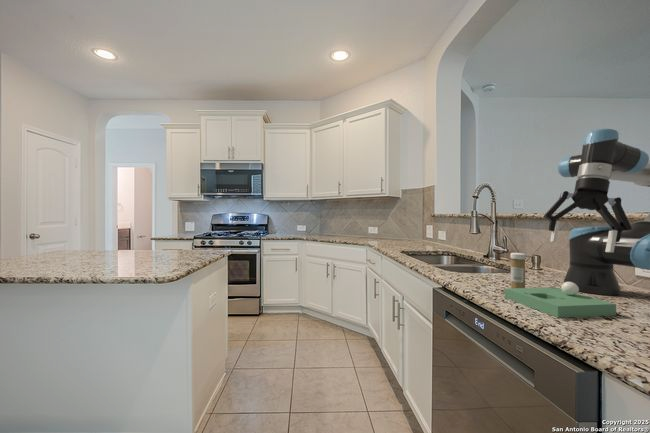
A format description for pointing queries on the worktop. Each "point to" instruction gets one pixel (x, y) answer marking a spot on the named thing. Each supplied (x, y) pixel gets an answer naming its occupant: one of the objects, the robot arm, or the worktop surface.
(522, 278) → the sprinkles bottle
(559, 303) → the putting board
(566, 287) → the ball
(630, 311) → the worktop surface
